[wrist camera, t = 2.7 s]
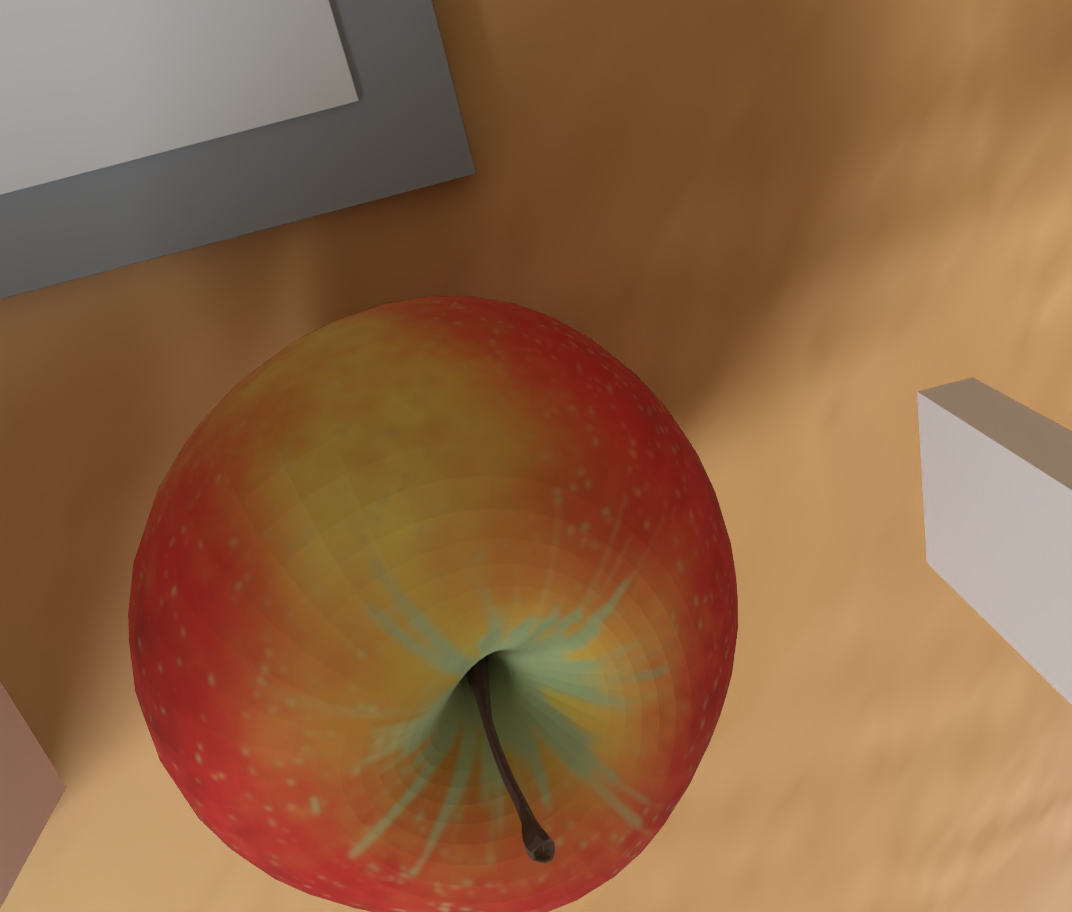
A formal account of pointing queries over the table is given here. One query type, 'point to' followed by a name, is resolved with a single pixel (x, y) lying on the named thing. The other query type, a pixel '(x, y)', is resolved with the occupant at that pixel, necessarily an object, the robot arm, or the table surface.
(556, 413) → the apple
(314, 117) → the coaster
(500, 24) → the table surface
